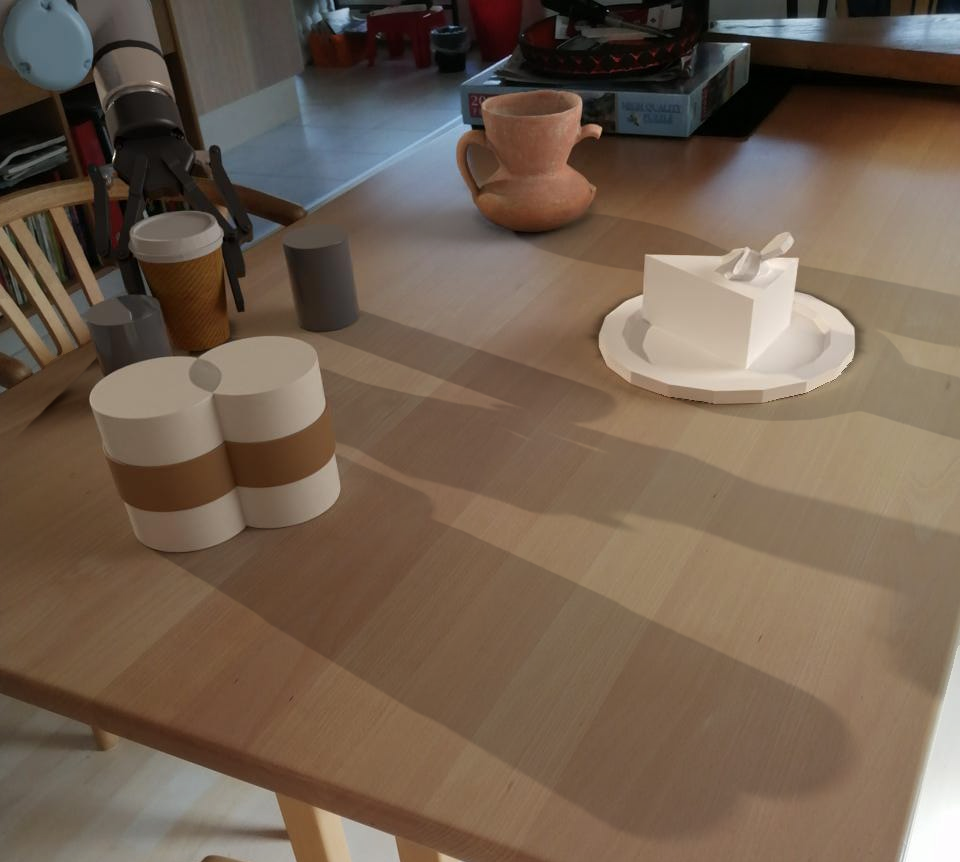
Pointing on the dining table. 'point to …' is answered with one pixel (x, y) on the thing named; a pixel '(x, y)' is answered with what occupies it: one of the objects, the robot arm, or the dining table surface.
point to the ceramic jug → (530, 160)
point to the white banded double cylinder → (219, 441)
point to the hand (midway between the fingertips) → (196, 314)
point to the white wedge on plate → (726, 329)
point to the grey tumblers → (314, 284)
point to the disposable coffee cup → (185, 275)
